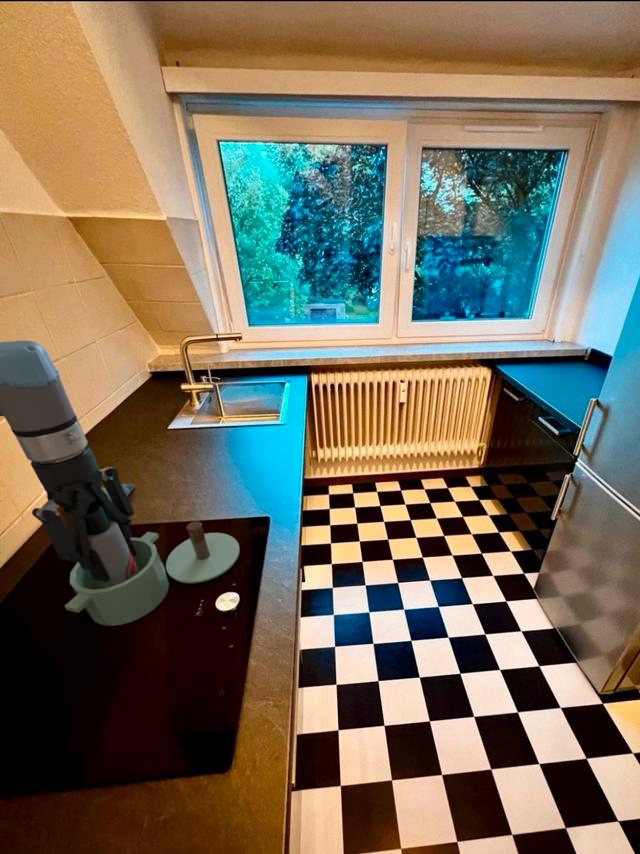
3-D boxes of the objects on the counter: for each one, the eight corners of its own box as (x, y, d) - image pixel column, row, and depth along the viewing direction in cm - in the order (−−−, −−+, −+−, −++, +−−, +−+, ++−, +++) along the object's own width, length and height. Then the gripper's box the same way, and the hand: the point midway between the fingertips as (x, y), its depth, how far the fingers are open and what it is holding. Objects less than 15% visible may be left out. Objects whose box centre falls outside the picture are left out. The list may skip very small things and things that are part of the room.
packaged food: (84, 522, 93) (76, 505, 90) (105, 494, 103) (99, 479, 100) (122, 519, 94) (115, 502, 91) (140, 492, 104) (134, 476, 101)
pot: (57, 629, 67) (34, 596, 63) (137, 555, 83) (123, 524, 78) (122, 646, 64) (103, 613, 60) (192, 566, 80) (181, 535, 75)
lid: (151, 578, 77) (136, 543, 72) (195, 532, 89) (185, 499, 84) (215, 591, 74) (204, 556, 69) (252, 542, 86) (245, 509, 81)
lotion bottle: (150, 580, 75) (113, 496, 65) (137, 603, 71) (95, 517, 60) (121, 581, 75) (79, 497, 65) (106, 604, 70) (58, 518, 60)
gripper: (17, 490, 48) (90, 611, 61) (128, 428, 64) (168, 536, 76) (-27, 482, 50) (52, 602, 63) (91, 424, 65) (136, 530, 78)
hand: (116, 566), depth 69 cm, fingers closed on lotion bottle, 6 cm apart
